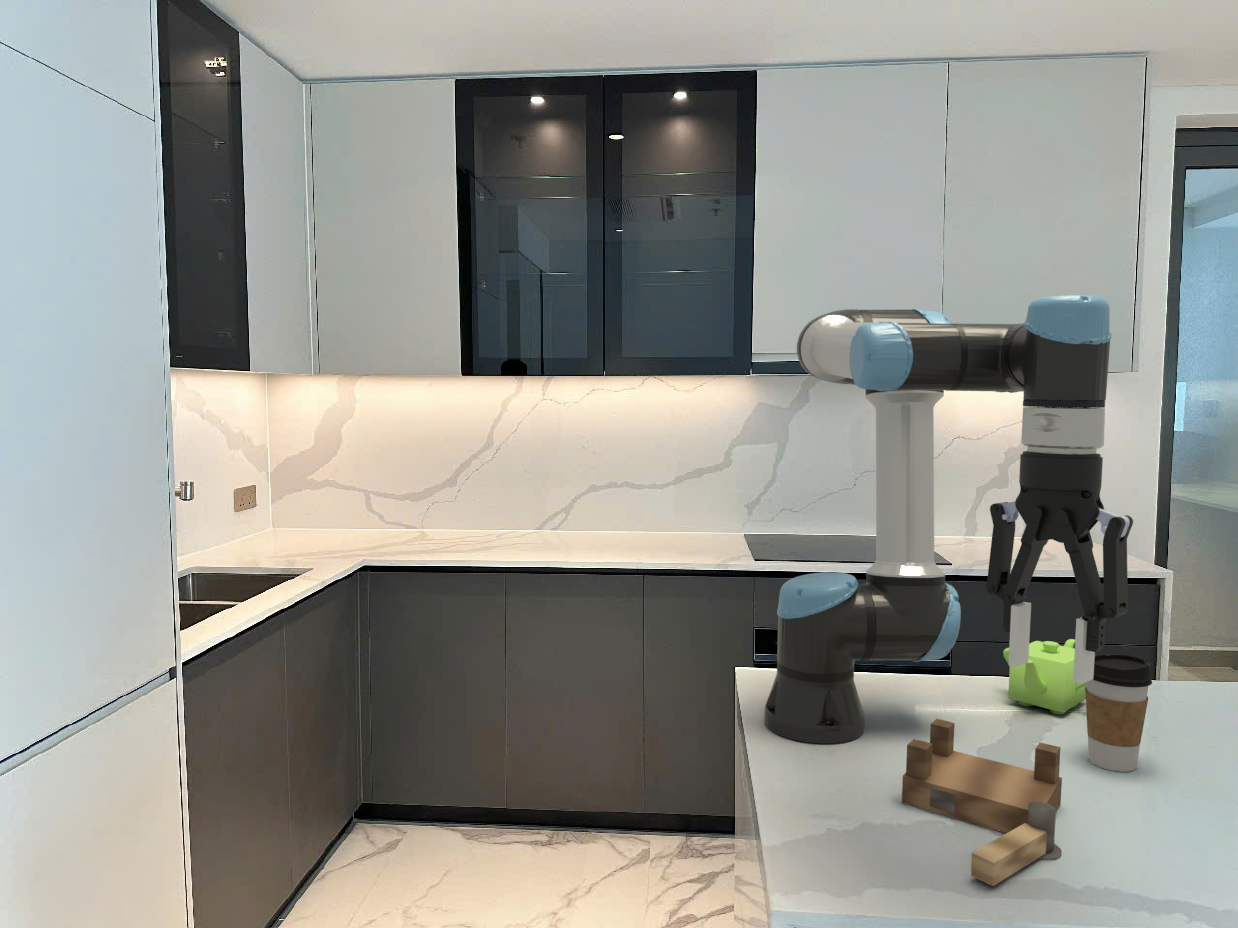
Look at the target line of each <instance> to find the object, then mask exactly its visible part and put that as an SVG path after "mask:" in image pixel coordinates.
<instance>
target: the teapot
mask: <svg viewBox="0 0 1238 928" xmlns="http://www.w3.org/2000/svg"><path fill="white" fill-rule="evenodd" d="M1074 646H1075V638H1074V639H1073V638H1069V639H1067V640H1066V641H1065V643H1064V645H1061V644H1059V643H1058V642H1055V641H1052V640H1051V641H1050V640H1045V641H1041V640H1035V641H1032V642H1029V659H1028V663H1026V664H1023V665H1020V666H1017V667H1013V666H1009V673H1008V674H1009V676H1008V677H1009V678H1008V693H1007V695H1008V696H1007V698H1008V699H1009V700H1013V701H1016V702H1018V704H1019V705H1020V706H1024V707H1032V706H1036V707H1039V708H1044V709H1046V710H1050V711H1049V712H1050V713H1051V712H1052V714H1054V715H1058V714H1063V715H1065V712H1067V711H1068V710H1070V709H1072V708H1076V707H1077V705H1078V704H1080V703H1082V702H1084V701H1086V695H1085V688H1086V686H1087V682H1085V683H1083V684H1077V683H1074V682H1073V673H1074V654H1075V647H1074ZM1002 653H1003V654H1002V655H1003V657H1004V659H1005V661H1006V663H1007V664H1008V665H1009V647H1006V648H1005V649H1004V650H1003V651H1002ZM1055 713H1056V714H1055Z"/></svg>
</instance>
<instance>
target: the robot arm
mask: <svg viewBox="0 0 1238 928" xmlns="http://www.w3.org/2000/svg"><path fill="white" fill-rule="evenodd" d="M1027 307H1028V308H1027V311H1026V313H1027V314H1026V318H1025V321H1024V323H951V322H950V321H949V319H948V318H947V317H946V315H944V314H943V313H941V312H939V311H934V310H921V309H917V308H913V309H855V308H853V309H848V308H847V309H841V310H840V309H839V310H835V311H834V310H833V311H829V312H827V313H824V314H821V315H817V316H816V317H815V318H813V319H812V320H810V321H809V322H807V324H806V325H805V326H804V327H803V328H802V330H801V332H800V333H799V336H798V338H797V343H796V354H797V359H798V361H799V363H800V365H801V368H802V369H804V371H805V372H806V373H808V374H809V375H810V376H812V377H813V378H816V379H819V380H821V381H824V382H825V381H826V382H828V383H833V384H838V385H839V384H840V385H853V386H857V388H859V389H862V390H865V399H866V400H867V401H868V402H869V403H870V404H872V406H874V409H875V517H876V518H875V534H876V535H875V539H876V540H875V543H876V544H875V547H876V548H875V553H876V556H875V557H876V559H875V561H874V562H873V564H872V565H871V566H870V567H869V568H867V570H865V571H866V573H865V576H866V577H865V579H866V580H865V583H859V582H858V581H857V578H856V577H855V576H854V575H852V574H849V573H845V572H832V571H830V572H827V571H826V572H814V573H807V574H802V575H798V576H795V577H793V578H790V579H789V580H787V581H786V582H785V583H783V584H782V586H781V587H780V590H779V596H778V604H777V605H778V606H777V610H776V614H777V616H778V617H777V618H778V619H777V653H776V655H777V657H776V659H777V661H776V674H775V678H774V680H773V684H772V685H771V689H770V691H769V694H768V697H767V700H766V702H765V705H764V720H763V721H764V725H765V726H766V728H768V729H769V730H771V731H772V732H773V733H775V734H776V735H779V736H782V737H784V738H788V739H790V740H795V741H798V742H799V741H800V742H803V743H805V742H806V743H813V744H840V743H846V742H849V741H850V742H851V741H853V740H855V739H857V738H859V737H861V736H862V735H863V734H864V731H865V714H864V709H863V707H862V703H861V700H860V697H859V693H858V689H857V687H856V683H855V677H854V676H855V661H911V662H914V663H918V662H921V661H933V660H934V661H935V660H940V659H942V658H945V657H946V656H947V655H948V654H949V653H950V652H951V650H952V649H953V648H954V646H955V644H956V641H957V639H958V636H959V631H960V629H961V628H960V627H961V617H962V614H961V612H962V611H961V603H960V602H959V594H958V591H957V590H956V589H955V588H954V586H952V584H949V583H946V573H945V572H944V571H943V570H942V569H941V568H940V567H939V566H938V565H937V564H936V562H935V467H934V466H935V462H934V460H935V459H934V457H935V456H934V455H935V453H934V451H935V449H934V446H935V445H934V444H935V443H934V442H935V441H934V438H935V435H934V421H935V420H934V408H935V405H936V404H937V403H938V402H939V401H940V400H941V399H942V398H944V397H945V395H944V394H945V393H944V392H945V391H946V392H947V391H948V392H950V391H953V392H958V391H959V392H995V393H1010V394H1013V393H1019V392H1023V396H1022V397H1023V400H1022V418H1021V420H1022V421H1021V424H1022V425H1021V439H1020V442H1021V444H1022V445H1023V446H1024V447H1026V448H1027V449H1026V450H1024V451H1022V453H1021V454H1020V456H1019V457H1020V458H1019V459H1020V460H1019V477H1018V479H1019V481H1018V482H1019V487H1020V490H1019V494H1018V495H1017V497H1016V499H1015V500H1014V501H1011V502H1009V501H1004V502H997V503H992V504H991V505H990V506H989V512H990V516H991V521H992V526H993V527H992V534H991V541H990V542H991V545H990V551H989V552H990V553H989V559H988V560H989V562H988V571H987V580H986V591H987V593H988V594H990V595H994V596H997V597H998V598H1000V599H1001V600H1002V602H1003V614H1002V615H1003V618H1002V619H1003V620H1002V628H1003V632H1006V633H1009V642H1008V643H1009V646H1008V648H1009V664H1008V667H1010V666H1013V667H1017V666H1020V665H1023V664H1026V663H1028V659H1029V644H1030V639H1031V638H1030V635H1031V619H1032V618H1031V617H1032V616H1031V613H1032V602H1026V601H1022V600H1026V599H1027V598H1028V596H1027V595H1026V593H1027V591H1028V589H1029V588H1028V587H1030V586H1029V585H1030V584H1031V580H1032V578H1033V575H1034V573H1035V570H1036V567H1037V565H1038V562H1039V560H1040V557H1041V555H1042V552H1043V550H1044V547H1045V546H1046V545H1047V544H1048V542H1049V540H1052V541H1054V542H1057V543H1061V544H1063V546H1064V550H1065V552H1066V554H1068V557H1069V559H1070V563H1071V567H1072V571H1073V575H1074V578H1075V583H1076V586H1077V590H1078V593H1079V598H1080V602H1081V606H1082V609H1083V613H1084V614H1083V615H1082V616H1081V617H1078V618H1076V619H1075V620H1076V621H1075V622H1076V623H1075V638H1074V640H1075V643H1074V649H1075V654H1074V673H1073V682H1074V683H1077V684H1083V683H1085V682H1088V681H1090V680H1092V679H1093V675H1094V657H1095V655H1096V653H1098V652H1101V651H1102V650H1103V649H1104V647H1105V645H1106V644H1105V639H1106V622H1107V619H1113V618H1116V617H1120V616H1122V615H1125V614H1127V613H1128V611H1129V593H1128V592H1129V591H1128V590H1129V588H1128V587H1129V586H1128V585H1129V584H1128V582H1129V581H1128V537H1129V535H1130V532H1131V530H1132V527H1133V524H1134V520H1133V518H1132V517H1131V516H1130V515H1128V514H1127V515H1126V514H1125V515H1118V514H1116V513H1113V512H1111V511H1108V510H1106V509H1105V507H1104V504H1103V502H1102V499H1101V490H1102V489H1101V488H1102V480H1103V479H1102V477H1103V463H1104V462H1103V459H1104V458H1103V457H1102V456H1101V453H1097V450H1098V449H1102V447H1103V446H1105V421H1106V418H1105V417H1106V400H1107V389H1108V375H1109V373H1108V372H1109V359H1110V346H1111V345H1110V344H1111V339H1112V333H1111V330H1110V319H1111V317H1110V316H1111V314H1110V310H1111V309H1110V308H1111V307H1110V304H1109V302H1108V301H1107V299H1105V298H1104V297H1102V296H1097V295H1091V294H1090V295H1088V294H1087V295H1086V294H1072V295H1071V294H1068V295H1067V294H1066V295H1051V296H1050V295H1049V296H1043V297H1037V298H1035V299H1033V300H1032V301H1030V303H1029V305H1028V306H1027ZM1019 516H1020V517H1021V519H1022V521H1023V522H1024V524H1025V528H1024V530H1023V533H1022V536H1021V539H1020V543H1021V544H1020V546H1019V547H1020V548H1019V549H1018V553H1017V555H1016V558H1015V560H1014V562H1013V565H1012V559H1013V551H1014V546H1015V545H1014V543H1015V535H1016V521H1017V519H1018V517H1019ZM1097 523H1100V531H1101V532H1102V533H1103V534H1104V535H1103V538H1102V539H1103V540H1102V566H1103V569H1102V572H1103V573H1102V575H1103V576H1102V577H1103V579H1102V581H1103V582H1102V581H1101V578H1100V575H1099V571H1098V567H1097V564H1096V563H1097V562H1096V559H1095V556H1094V552H1093V551H1094V549H1093V547H1094V543H1093V539H1092V535H1091V532H1090V531H1091V530H1092V528H1093V527H1095V525H1096V524H1097ZM1101 582H1102V583H1103V586H1102V583H1101Z"/></svg>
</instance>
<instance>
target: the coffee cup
mask: <svg viewBox="0 0 1238 928" xmlns="http://www.w3.org/2000/svg"><path fill="white" fill-rule="evenodd" d="M1151 666H1152V665H1151V661H1150V660H1148V659H1147V658H1144V657H1141V656H1138V655H1135V654H1134V655H1133V654H1124V653H1099V654H1098V653H1097V654H1095V657H1094V675H1093V679H1092V680H1090V681H1088V682H1087V686H1086V688H1085V695H1086V699H1085V711H1086V728H1087V729H1086V731H1087V746H1088V748H1087V750H1088V752H1087V753H1088V761H1089V762H1090V763H1091V764H1093V765H1094V766H1096V767H1099V768H1101V769H1105V770H1108V771H1113V772H1119V773H1120V772H1121V773H1125V772H1126V773H1127V772H1134V771H1135V770H1136V769H1137V767H1138V759H1139V754H1140V753H1139V752H1140V746H1141V743H1142V742H1141V741H1142V736H1143V730H1144V724H1145V720H1146V719H1145V718H1146V714H1147V713H1146V712H1147V707H1148V702H1149V696H1148V690H1149V686H1151V685H1152V684H1153V681H1152V680H1153V675H1152V668H1151Z"/></svg>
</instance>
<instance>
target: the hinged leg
mask: <svg viewBox="0 0 1238 928" xmlns="http://www.w3.org/2000/svg"><path fill="white" fill-rule="evenodd" d="M1056 814H1057V812H1056V809H1055V807H1053V806H1052V805H1050V804H1047V803H1044V802H1037V801H1035V802H1030V803H1029V805H1028V824H1026V823H1024V824H1022V825H1021V826H1019V827H1017V828H1015V829H1014V830H1012V831H1010V832H1008V833H1004V834H1003V835H1001V836H1000V837H998V838H996V839H995V840H994V839H993V841H991V842H989V843H987V844H985V845H984V846H982V847H979V849H976V850H974V851H973V852H972V853H971V865H970V867H971V868H970V876H971V877H973V878H975V879H977V880H979V881H982V882H983V883H986V884H987V885H989V886H992V887H994V886H996V885H997V884H998V883H1000V882H1002V881H1004V880H1005V879H1007V878H1009V877H1010V876H1012V875H1014V874H1015V873H1016V872H1018V871H1020V870H1021V869H1023V868H1024V867H1026V866H1028V865H1030V864H1032V863H1033V862H1034V861H1036V860H1037V859H1039V857H1041V856H1042V855H1044V854H1045V853H1046V852H1049V851H1052V850H1053V849H1054V844H1055V834H1056V833H1055V831H1056V817H1057V815H1056Z"/></svg>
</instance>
